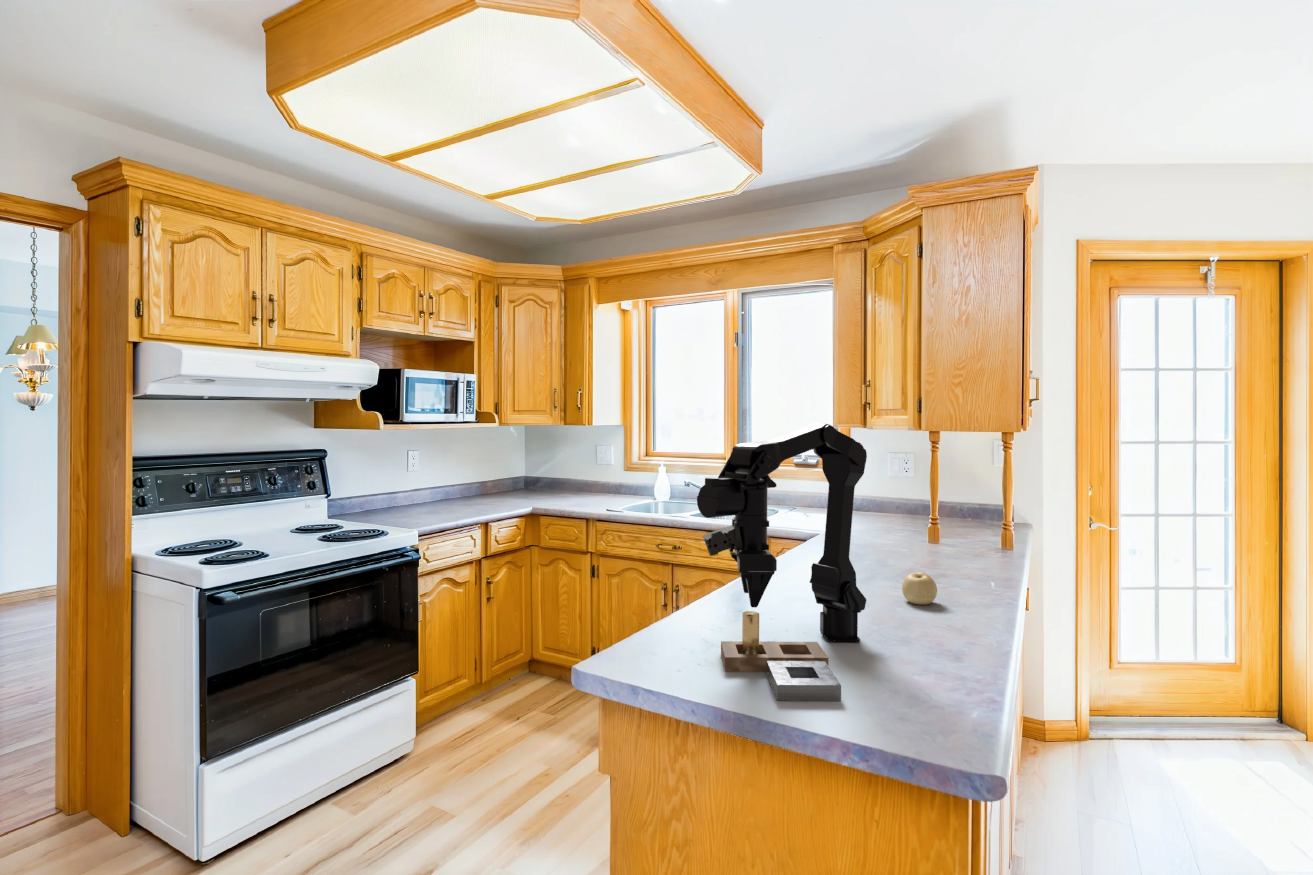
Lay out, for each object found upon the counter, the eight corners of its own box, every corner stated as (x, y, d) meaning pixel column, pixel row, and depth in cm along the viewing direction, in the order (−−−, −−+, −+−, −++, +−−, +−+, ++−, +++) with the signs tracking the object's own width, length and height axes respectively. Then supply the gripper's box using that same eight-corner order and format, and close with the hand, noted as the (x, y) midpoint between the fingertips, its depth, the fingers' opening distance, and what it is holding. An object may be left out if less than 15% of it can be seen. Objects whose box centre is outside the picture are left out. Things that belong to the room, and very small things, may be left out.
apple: (933, 596, 157) (943, 574, 153) (928, 617, 151) (938, 595, 147) (901, 583, 160) (910, 561, 156) (894, 603, 154) (904, 581, 150)
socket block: (824, 675, 110) (824, 660, 110) (841, 701, 100) (841, 685, 100) (766, 675, 110) (766, 660, 110) (777, 700, 100) (777, 684, 100)
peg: (757, 659, 117) (757, 611, 116) (760, 666, 114) (760, 616, 114) (741, 659, 117) (741, 611, 117) (743, 666, 114) (743, 616, 114)
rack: (817, 655, 119) (817, 641, 119) (828, 671, 111) (828, 657, 111) (720, 654, 119) (720, 641, 119) (725, 671, 111) (725, 657, 111)
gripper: (702, 506, 124) (702, 586, 124) (710, 521, 105) (709, 615, 106) (760, 506, 124) (759, 586, 124) (777, 521, 105) (776, 615, 105)
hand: (750, 599), depth 115 cm, fingers open, 9 cm apart
